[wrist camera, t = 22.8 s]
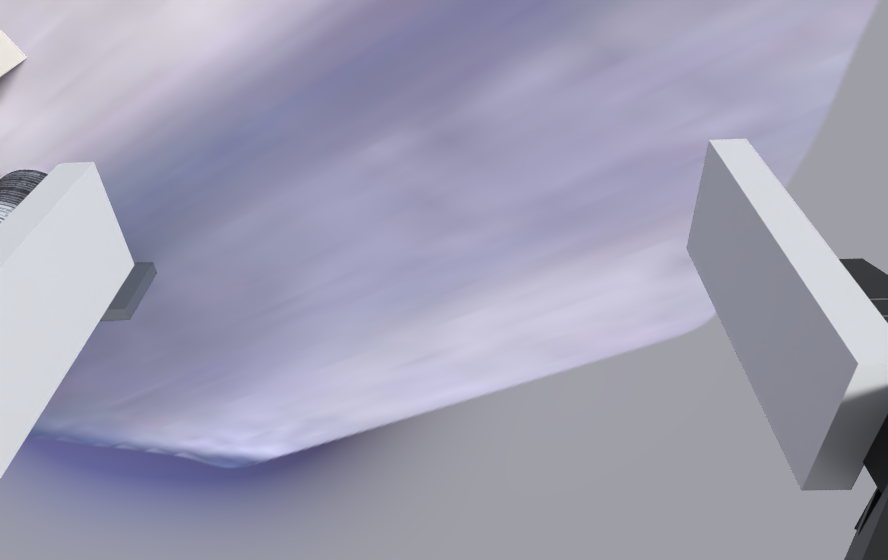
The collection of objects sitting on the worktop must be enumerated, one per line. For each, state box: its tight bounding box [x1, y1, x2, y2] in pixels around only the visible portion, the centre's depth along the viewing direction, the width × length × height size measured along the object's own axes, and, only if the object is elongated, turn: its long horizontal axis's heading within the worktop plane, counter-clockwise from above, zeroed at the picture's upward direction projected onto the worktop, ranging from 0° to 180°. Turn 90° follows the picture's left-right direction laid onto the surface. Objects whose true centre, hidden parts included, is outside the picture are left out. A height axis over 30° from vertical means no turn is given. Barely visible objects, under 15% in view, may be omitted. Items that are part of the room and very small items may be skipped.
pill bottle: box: [0, 170, 48, 224], centre depth 44 cm, size 6×6×11 cm
